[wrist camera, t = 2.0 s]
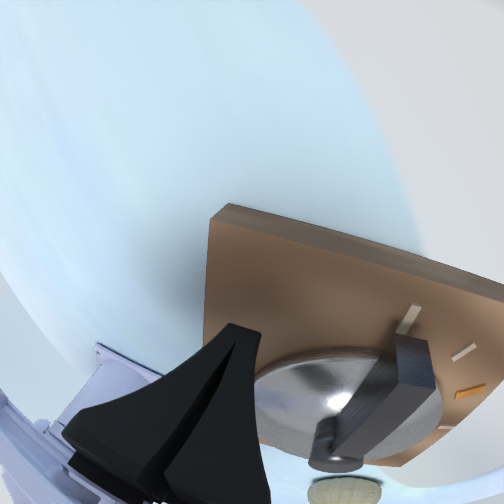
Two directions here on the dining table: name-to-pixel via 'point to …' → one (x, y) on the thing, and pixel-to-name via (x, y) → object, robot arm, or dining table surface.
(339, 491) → the sea urchin shell
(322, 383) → the dial
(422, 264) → the dial base
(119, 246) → the dining table surface
